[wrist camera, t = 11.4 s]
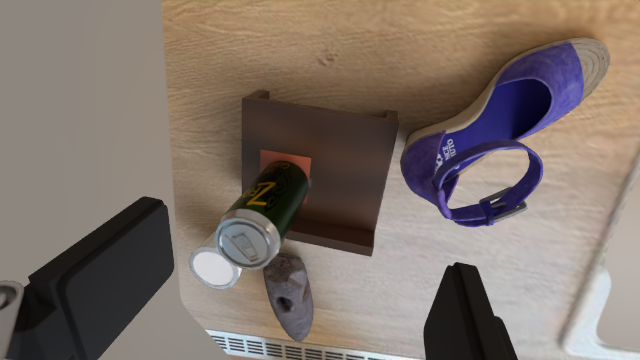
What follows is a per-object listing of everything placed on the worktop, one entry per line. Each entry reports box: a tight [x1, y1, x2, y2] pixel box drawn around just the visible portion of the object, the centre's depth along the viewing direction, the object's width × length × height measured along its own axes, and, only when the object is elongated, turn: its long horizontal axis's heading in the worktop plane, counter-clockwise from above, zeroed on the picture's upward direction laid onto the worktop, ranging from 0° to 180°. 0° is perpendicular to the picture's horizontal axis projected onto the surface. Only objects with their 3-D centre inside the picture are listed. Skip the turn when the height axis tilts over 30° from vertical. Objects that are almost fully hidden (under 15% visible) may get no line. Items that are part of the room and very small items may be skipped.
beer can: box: [215, 160, 309, 270], centre depth 31 cm, size 5×5×12 cm
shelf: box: [242, 90, 399, 257], centre depth 36 cm, size 14×16×8 cm
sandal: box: [400, 37, 610, 227], centre depth 27 cm, size 8×20×15 cm, turn 115°
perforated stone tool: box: [263, 253, 313, 342], centre depth 46 cm, size 15×5×7 cm, turn 9°
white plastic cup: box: [189, 232, 242, 289], centre depth 45 cm, size 7×7×7 cm
